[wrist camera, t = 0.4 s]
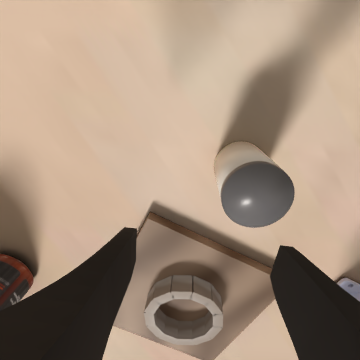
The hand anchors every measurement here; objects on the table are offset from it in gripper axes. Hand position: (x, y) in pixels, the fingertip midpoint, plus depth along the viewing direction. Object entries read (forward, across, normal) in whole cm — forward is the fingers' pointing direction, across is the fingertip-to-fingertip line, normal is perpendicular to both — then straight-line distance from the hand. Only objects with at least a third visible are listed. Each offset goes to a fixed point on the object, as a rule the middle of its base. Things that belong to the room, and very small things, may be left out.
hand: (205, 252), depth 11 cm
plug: (+10, -3, -2) cm, 10 cm away
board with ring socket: (+10, 0, +14) cm, 17 cm away
